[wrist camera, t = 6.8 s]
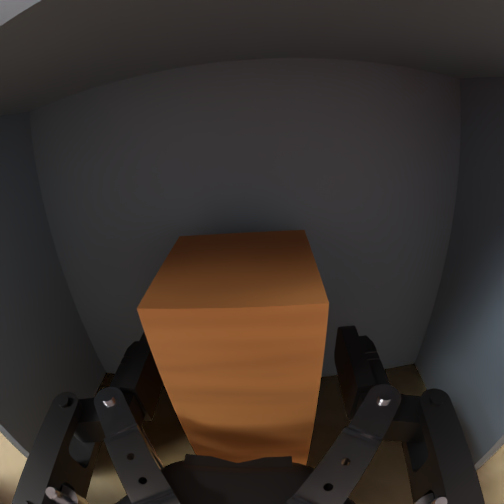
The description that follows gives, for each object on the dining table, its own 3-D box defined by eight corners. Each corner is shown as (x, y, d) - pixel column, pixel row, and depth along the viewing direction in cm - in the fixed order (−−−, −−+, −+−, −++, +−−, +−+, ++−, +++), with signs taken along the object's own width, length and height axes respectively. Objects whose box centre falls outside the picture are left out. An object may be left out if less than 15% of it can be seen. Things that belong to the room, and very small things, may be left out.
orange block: (304, 474, 12) (329, 303, 7) (206, 474, 12) (136, 308, 8) (298, 402, 17) (304, 229, 12) (215, 404, 17) (179, 236, 12)
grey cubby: (477, 469, 9) (622, 64, 1) (44, 473, 11) (-125, 127, 2) (422, 349, 19) (461, 63, 11) (98, 360, 20) (26, 97, 12)
